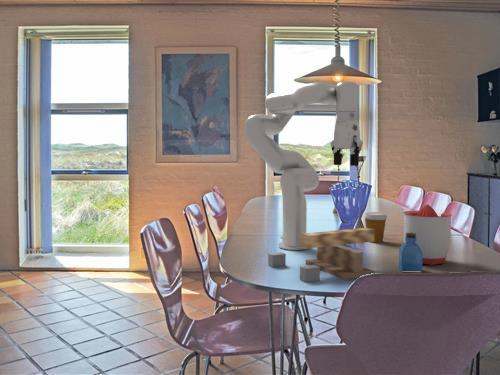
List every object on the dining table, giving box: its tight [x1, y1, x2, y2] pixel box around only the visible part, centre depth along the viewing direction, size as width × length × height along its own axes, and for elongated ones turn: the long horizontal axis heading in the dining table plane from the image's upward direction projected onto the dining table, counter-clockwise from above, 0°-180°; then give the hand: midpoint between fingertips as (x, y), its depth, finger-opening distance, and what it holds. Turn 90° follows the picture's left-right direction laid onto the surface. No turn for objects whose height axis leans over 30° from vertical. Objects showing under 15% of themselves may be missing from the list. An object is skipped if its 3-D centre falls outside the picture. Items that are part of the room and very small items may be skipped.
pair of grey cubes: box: [267, 251, 321, 283], centre depth 147 cm, size 23×5×4 cm, turn 26°
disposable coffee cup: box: [363, 211, 388, 244], centre depth 197 cm, size 10×10×12 cm
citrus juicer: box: [403, 204, 453, 266], centre depth 161 cm, size 16×17×20 cm
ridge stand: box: [305, 244, 376, 281], centre depth 150 cm, size 22×11×8 cm, turn 26°
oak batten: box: [301, 227, 374, 250], centre depth 149 cm, size 26×4×4 cm, turn 116°
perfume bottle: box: [398, 233, 423, 272], centre depth 149 cm, size 6×6×12 cm
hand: (345, 165), depth 167 cm, fingers open, 9 cm apart
